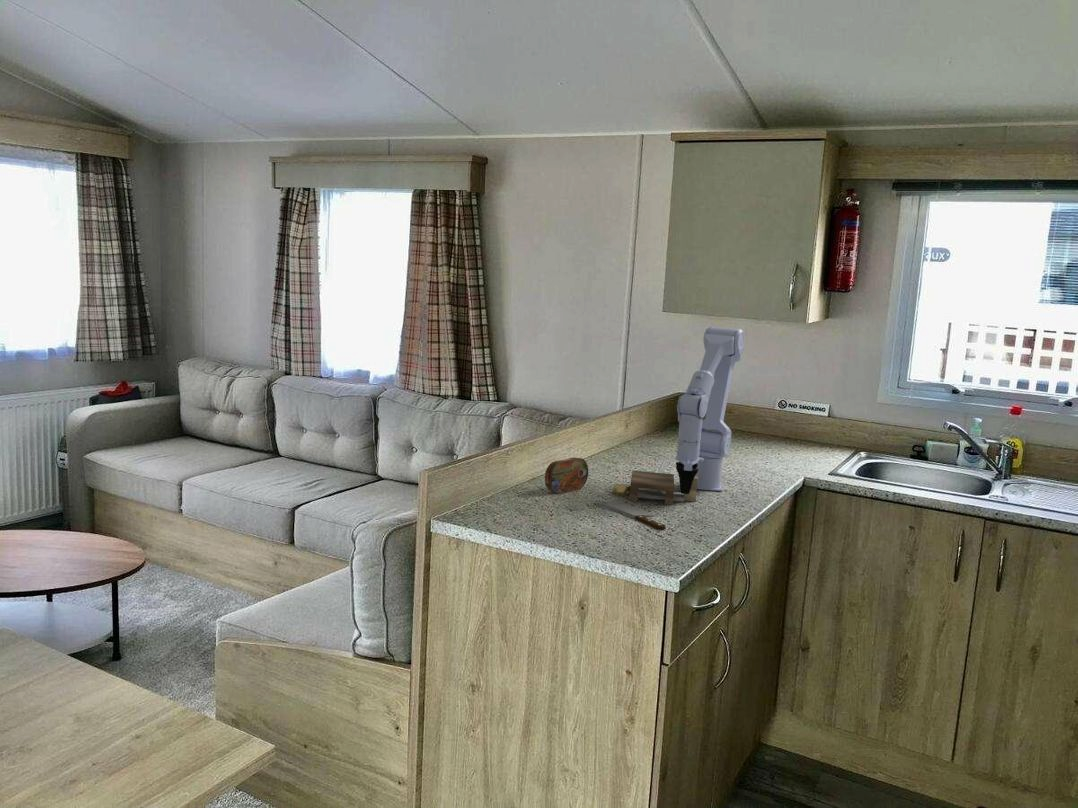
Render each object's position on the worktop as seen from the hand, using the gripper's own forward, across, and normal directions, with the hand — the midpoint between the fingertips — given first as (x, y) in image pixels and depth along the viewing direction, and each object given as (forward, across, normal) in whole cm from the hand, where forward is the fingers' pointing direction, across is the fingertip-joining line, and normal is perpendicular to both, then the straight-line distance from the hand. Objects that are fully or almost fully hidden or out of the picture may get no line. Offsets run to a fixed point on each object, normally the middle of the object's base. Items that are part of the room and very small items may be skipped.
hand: (684, 491), depth 232 cm
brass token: (+2, 0, +16) cm, 16 cm away
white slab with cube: (+2, 0, +5) cm, 6 cm away
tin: (+2, -2, +31) cm, 31 cm away
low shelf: (+2, 0, +8) cm, 9 cm away
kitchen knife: (+2, -19, +12) cm, 22 cm away
